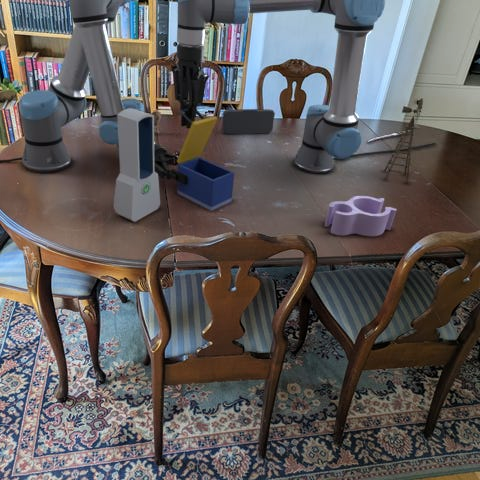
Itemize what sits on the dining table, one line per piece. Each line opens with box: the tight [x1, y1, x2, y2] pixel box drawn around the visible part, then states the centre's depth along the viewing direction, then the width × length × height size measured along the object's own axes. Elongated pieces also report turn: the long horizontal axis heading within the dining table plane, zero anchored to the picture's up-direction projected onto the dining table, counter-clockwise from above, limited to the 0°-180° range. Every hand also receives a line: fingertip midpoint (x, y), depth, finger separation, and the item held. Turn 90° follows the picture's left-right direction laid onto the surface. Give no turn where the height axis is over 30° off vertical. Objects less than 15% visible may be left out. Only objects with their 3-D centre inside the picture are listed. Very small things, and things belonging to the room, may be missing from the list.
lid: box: [177, 108, 218, 164], centre depth 143 cm, size 16×10×8 cm
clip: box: [324, 195, 398, 237], centre depth 141 cm, size 20×12×7 cm, turn 109°
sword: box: [367, 131, 410, 144], centre depth 215 cm, size 31×3×1 cm, turn 126°
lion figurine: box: [150, 110, 162, 127], centre depth 189 cm, size 15×5×9 cm, turn 110°
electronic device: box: [112, 108, 161, 223], centre depth 130 cm, size 12×8×30 cm, turn 148°
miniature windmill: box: [383, 97, 424, 184], centre depth 169 cm, size 9×8×30 cm
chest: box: [176, 156, 235, 212], centre depth 147 cm, size 15×10×10 cm, turn 50°
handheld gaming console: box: [221, 108, 276, 135], centre depth 201 cm, size 23×3×10 cm, turn 108°
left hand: (197, 175), depth 148 cm, fingers closed on chest, 10 cm apart
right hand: (187, 126), depth 143 cm, fingers closed on lid, 2 cm apart
